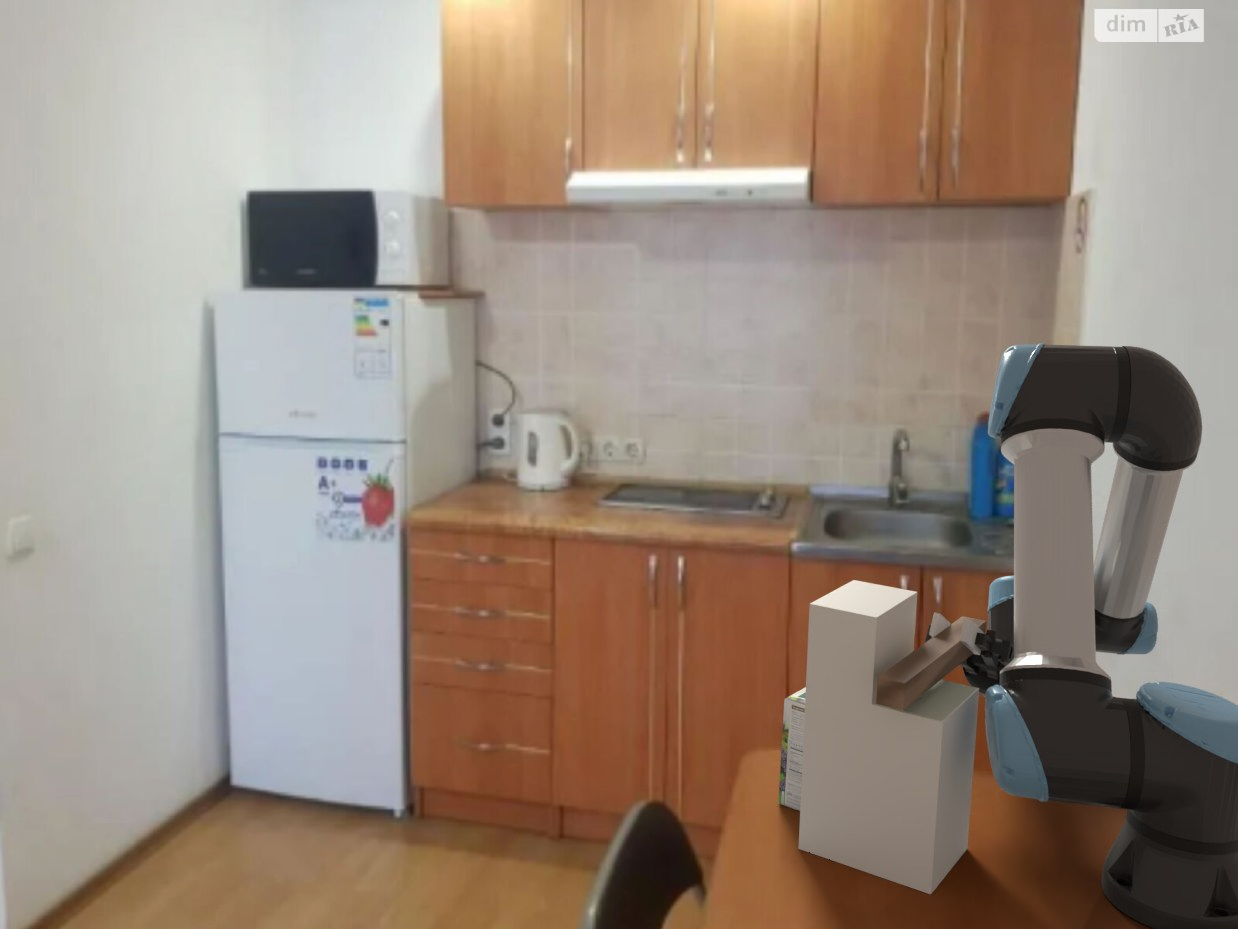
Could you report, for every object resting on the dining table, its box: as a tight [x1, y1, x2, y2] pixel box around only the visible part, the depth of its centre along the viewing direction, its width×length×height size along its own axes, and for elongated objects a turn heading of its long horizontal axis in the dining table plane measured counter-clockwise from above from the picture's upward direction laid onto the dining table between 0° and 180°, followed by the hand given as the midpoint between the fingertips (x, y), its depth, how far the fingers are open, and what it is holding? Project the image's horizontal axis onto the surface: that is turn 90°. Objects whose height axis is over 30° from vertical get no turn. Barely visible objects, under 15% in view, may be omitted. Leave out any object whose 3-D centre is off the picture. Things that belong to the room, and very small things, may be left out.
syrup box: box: [778, 686, 806, 812], centre depth 141 cm, size 6×6×14 cm
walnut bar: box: [876, 616, 987, 710], centre depth 128 cm, size 3×26×3 cm, turn 144°
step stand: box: [798, 579, 980, 895], centre depth 129 cm, size 16×12×30 cm
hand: (949, 627), depth 131 cm, fingers closed on walnut bar, 3 cm apart
